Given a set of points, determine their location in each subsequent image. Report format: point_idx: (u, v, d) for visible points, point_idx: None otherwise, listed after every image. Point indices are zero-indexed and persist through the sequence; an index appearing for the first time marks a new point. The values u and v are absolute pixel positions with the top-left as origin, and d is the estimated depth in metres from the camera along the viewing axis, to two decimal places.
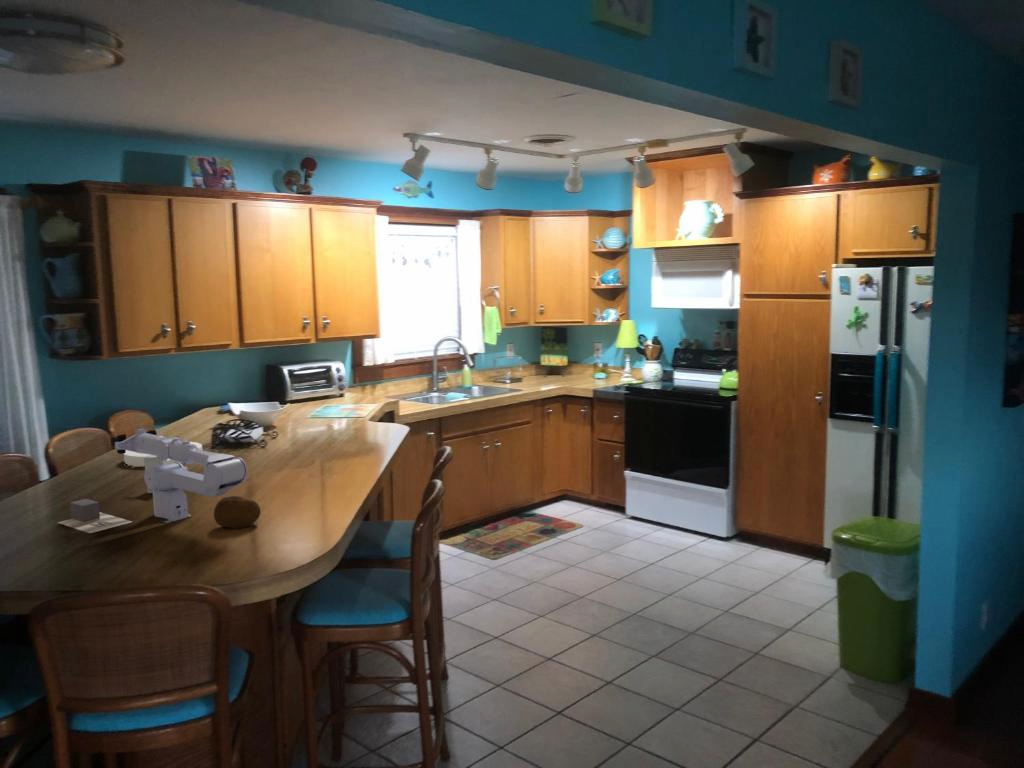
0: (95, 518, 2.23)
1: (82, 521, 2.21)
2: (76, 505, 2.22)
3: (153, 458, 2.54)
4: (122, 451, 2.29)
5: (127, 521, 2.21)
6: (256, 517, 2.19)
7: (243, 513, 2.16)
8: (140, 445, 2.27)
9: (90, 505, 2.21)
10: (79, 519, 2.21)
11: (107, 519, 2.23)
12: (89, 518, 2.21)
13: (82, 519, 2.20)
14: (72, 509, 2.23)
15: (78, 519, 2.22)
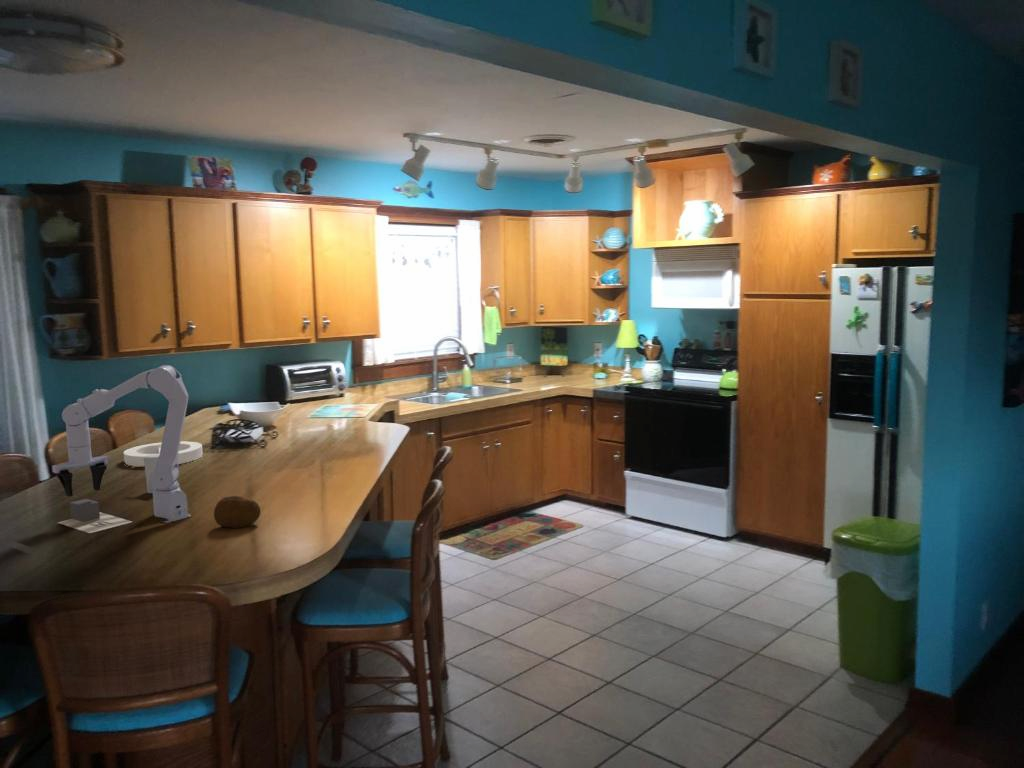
0: (95, 518, 2.23)
1: (82, 521, 2.21)
2: (76, 505, 2.22)
3: (153, 458, 2.54)
4: (67, 473, 2.17)
5: (127, 521, 2.21)
6: (256, 517, 2.19)
7: (243, 513, 2.16)
8: (69, 450, 2.19)
9: (90, 505, 2.21)
10: (79, 519, 2.21)
11: (107, 519, 2.23)
12: (89, 518, 2.21)
13: (82, 519, 2.20)
14: (72, 509, 2.23)
15: (78, 519, 2.22)
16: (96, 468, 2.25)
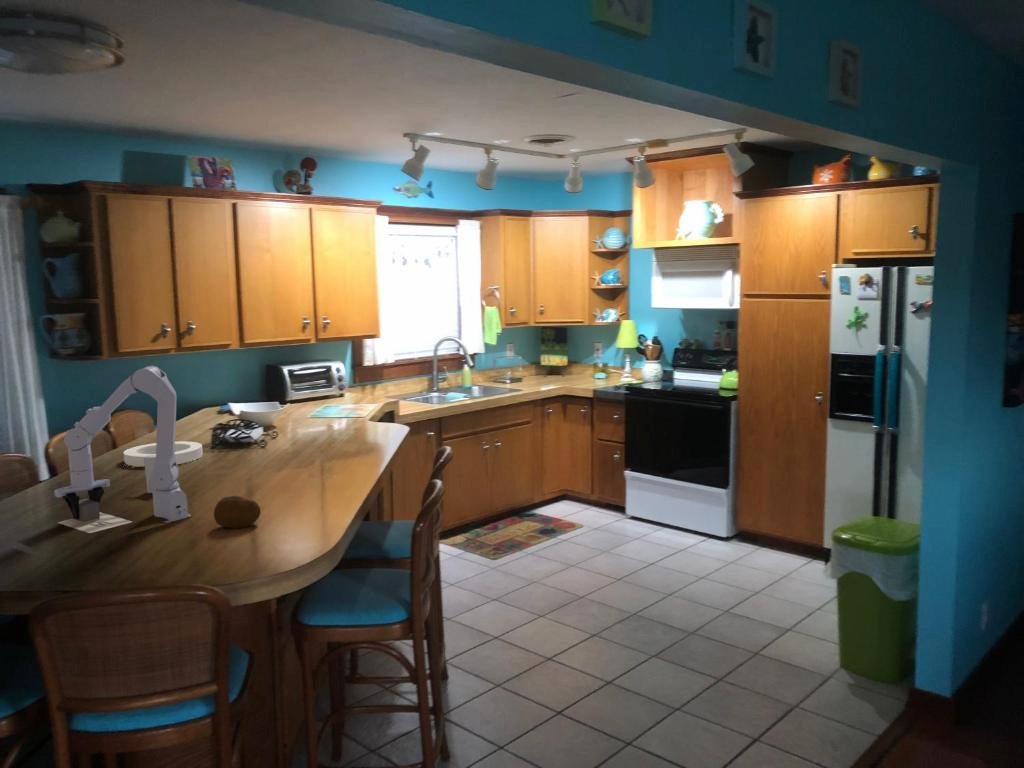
0: (95, 518, 2.23)
1: (82, 521, 2.21)
2: None
3: (153, 458, 2.54)
4: (74, 496, 2.19)
5: (127, 521, 2.21)
6: (256, 517, 2.19)
7: (243, 513, 2.16)
8: (71, 474, 2.20)
9: (90, 505, 2.21)
10: (79, 519, 2.21)
11: (107, 519, 2.23)
12: (89, 518, 2.21)
13: (82, 519, 2.20)
14: None
15: (78, 519, 2.22)
16: (94, 492, 2.24)
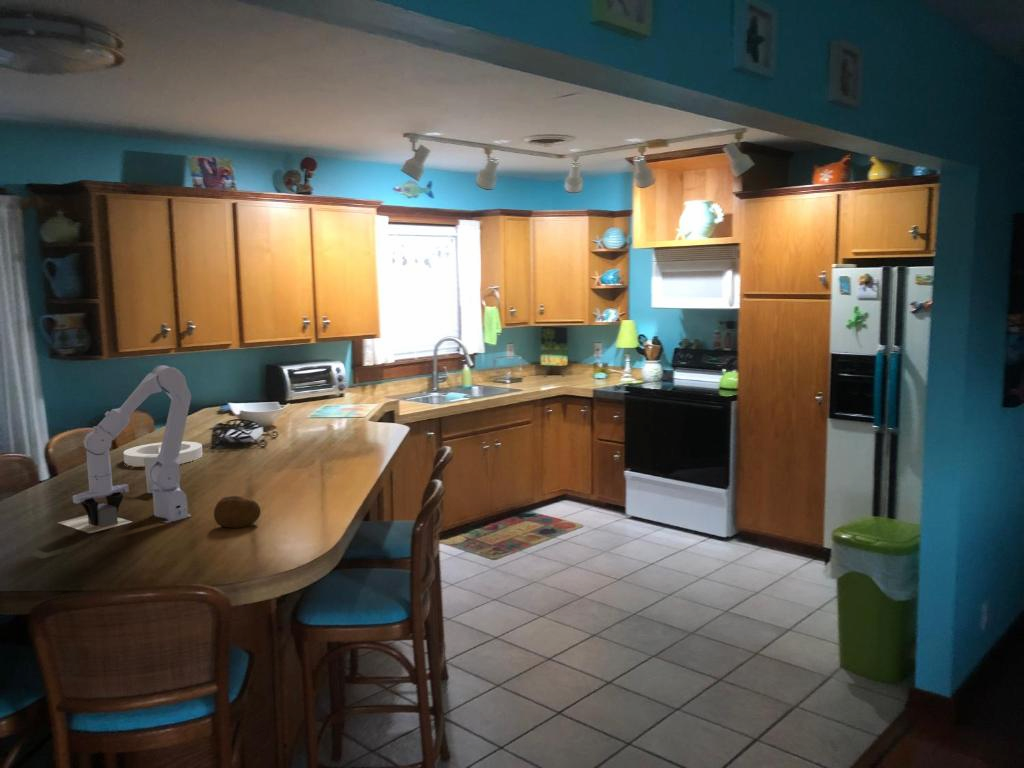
0: (113, 523, 2.17)
1: (100, 526, 2.15)
2: None
3: (153, 458, 2.54)
4: (93, 502, 2.13)
5: (127, 521, 2.21)
6: (256, 517, 2.19)
7: (243, 513, 2.16)
8: (89, 479, 2.14)
9: (108, 510, 2.16)
10: (97, 525, 2.16)
11: None
12: (107, 523, 2.16)
13: (100, 524, 2.15)
14: None
15: None
16: (112, 498, 2.19)
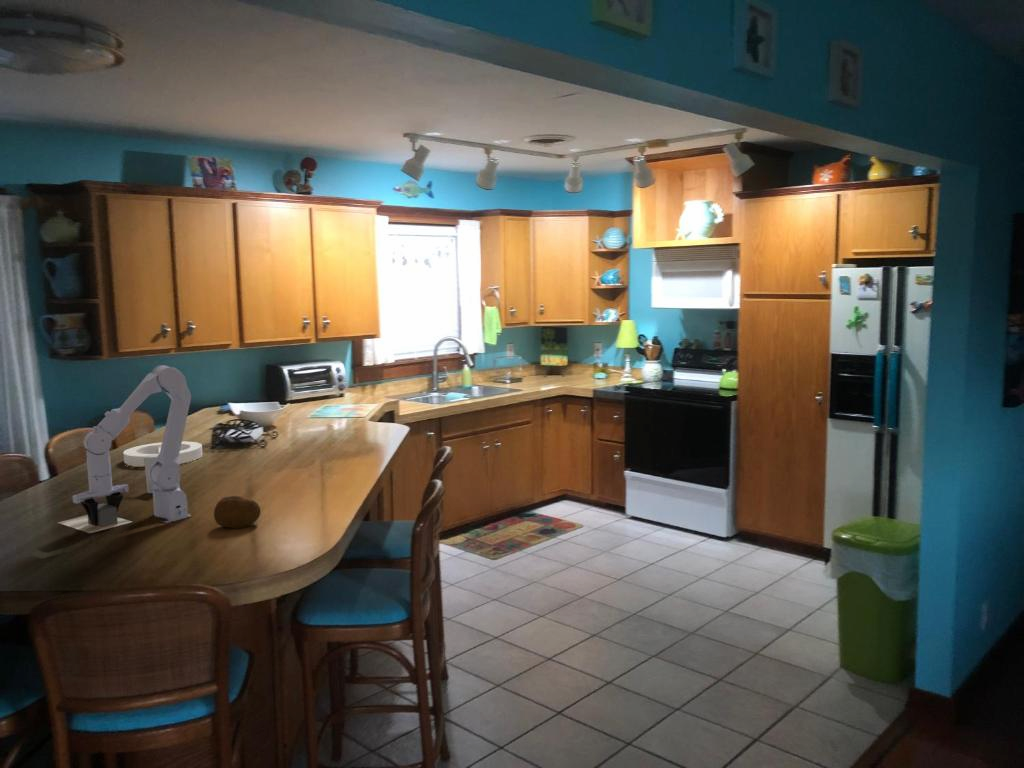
0: (113, 523, 2.17)
1: (100, 526, 2.15)
2: None
3: (153, 458, 2.54)
4: (93, 502, 2.13)
5: (127, 521, 2.21)
6: (256, 517, 2.19)
7: (243, 513, 2.16)
8: (89, 479, 2.14)
9: (108, 510, 2.16)
10: (97, 525, 2.16)
11: None
12: (107, 523, 2.16)
13: (100, 524, 2.15)
14: None
15: None
16: (112, 498, 2.19)
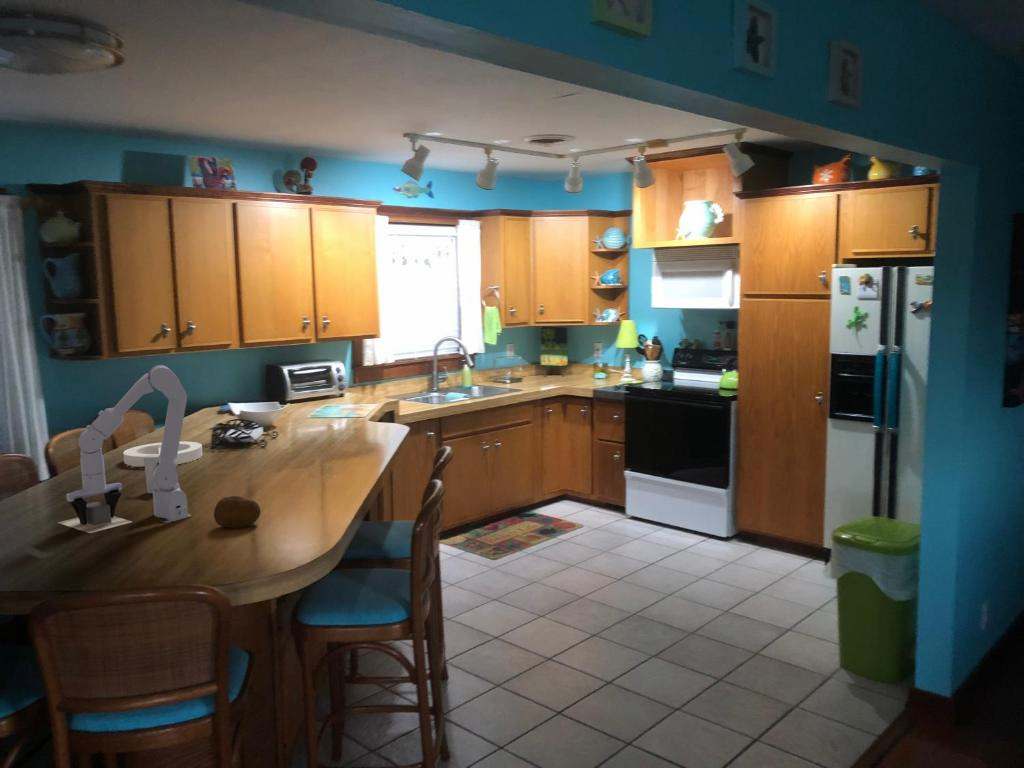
0: (106, 521, 2.19)
1: (93, 524, 2.17)
2: (87, 508, 2.18)
3: (153, 458, 2.54)
4: (81, 501, 2.14)
5: (127, 521, 2.21)
6: (256, 517, 2.19)
7: (243, 513, 2.16)
8: (83, 477, 2.16)
9: (101, 508, 2.18)
10: (91, 523, 2.18)
11: None
12: (100, 521, 2.18)
13: (93, 522, 2.17)
14: None
15: (89, 522, 2.18)
16: (110, 495, 2.22)
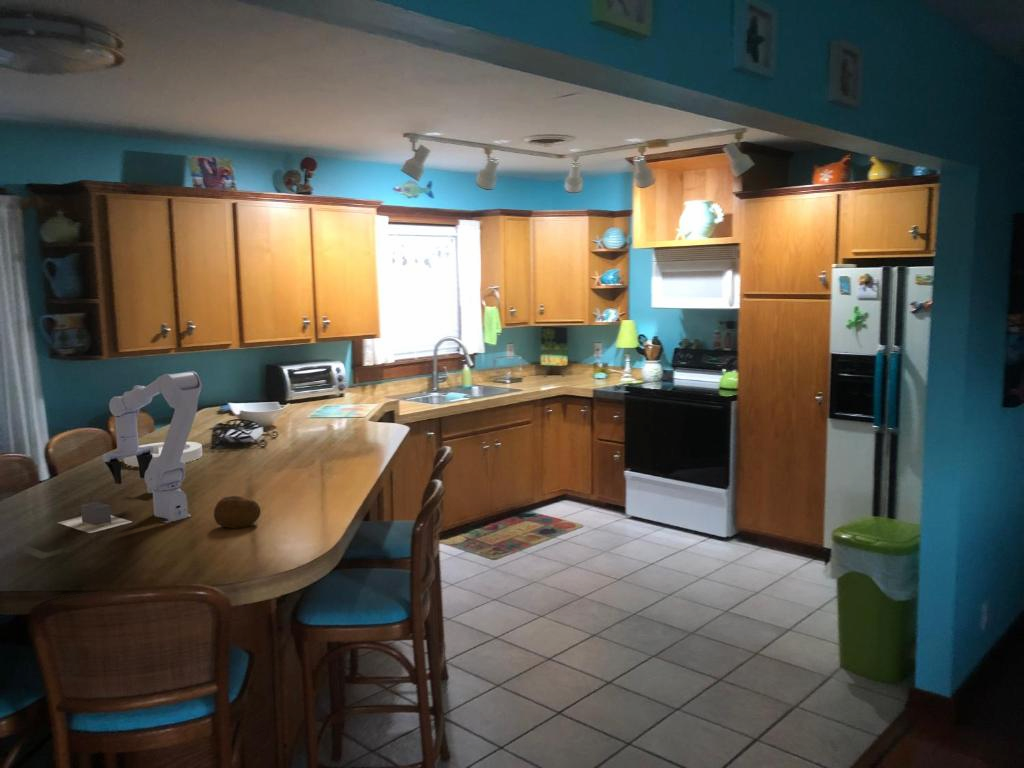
0: (106, 521, 2.19)
1: (93, 524, 2.17)
2: (87, 508, 2.18)
3: (153, 458, 2.54)
4: (117, 462, 2.28)
5: (127, 521, 2.21)
6: (256, 517, 2.19)
7: (243, 513, 2.16)
8: (118, 440, 2.30)
9: (101, 508, 2.18)
10: (91, 523, 2.18)
11: None
12: (100, 521, 2.18)
13: (93, 522, 2.17)
14: (83, 512, 2.20)
15: (89, 522, 2.18)
16: (143, 457, 2.36)
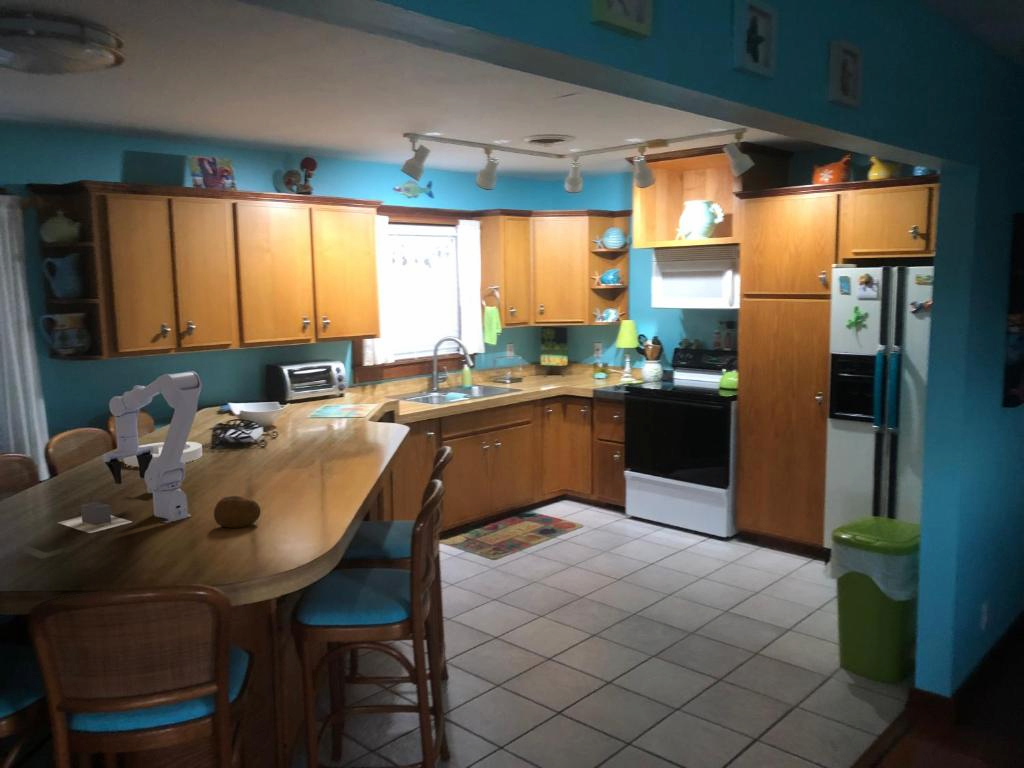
0: (106, 521, 2.19)
1: (93, 524, 2.17)
2: (87, 508, 2.18)
3: (153, 458, 2.54)
4: (117, 462, 2.28)
5: (127, 521, 2.21)
6: (256, 517, 2.19)
7: (243, 513, 2.16)
8: (118, 440, 2.30)
9: (101, 508, 2.18)
10: (91, 523, 2.18)
11: None
12: (100, 521, 2.18)
13: (93, 522, 2.17)
14: (83, 512, 2.20)
15: (89, 522, 2.18)
16: (143, 457, 2.36)
